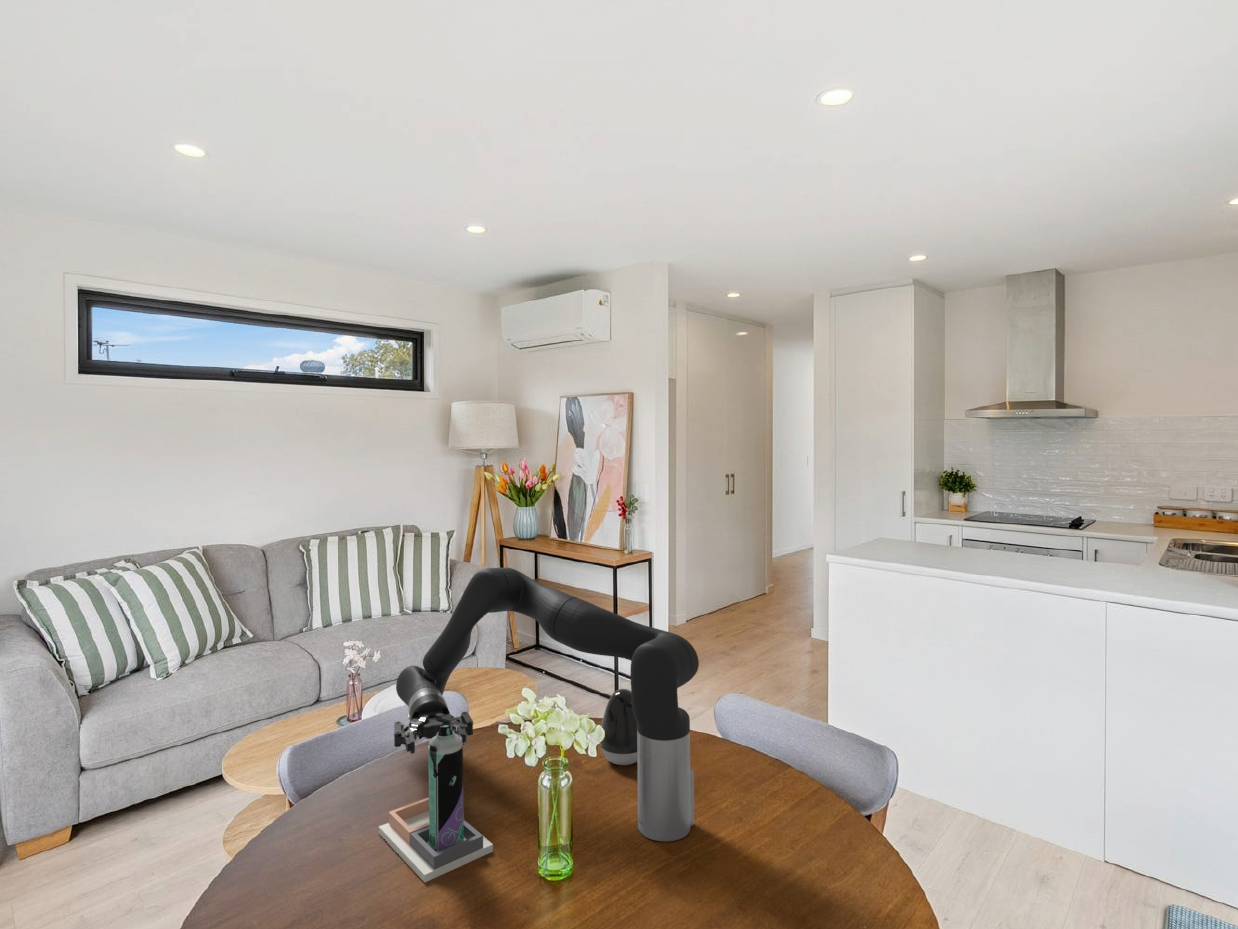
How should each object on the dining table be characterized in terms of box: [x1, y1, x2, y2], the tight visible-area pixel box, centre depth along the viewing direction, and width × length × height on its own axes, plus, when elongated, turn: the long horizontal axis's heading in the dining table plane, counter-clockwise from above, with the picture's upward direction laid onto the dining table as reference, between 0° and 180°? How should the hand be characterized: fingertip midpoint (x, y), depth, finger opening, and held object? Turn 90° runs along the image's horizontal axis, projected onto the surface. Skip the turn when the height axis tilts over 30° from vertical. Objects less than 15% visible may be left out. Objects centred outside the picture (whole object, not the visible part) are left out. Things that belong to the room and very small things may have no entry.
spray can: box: [427, 724, 465, 853], centre depth 110 cm, size 6×6×20 cm
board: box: [378, 796, 494, 883], centre depth 113 cm, size 12×18×3 cm, turn 41°
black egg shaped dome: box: [599, 688, 637, 766], centre depth 143 cm, size 10×10×15 cm
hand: (437, 744), depth 120 cm, fingers open, 8 cm apart
